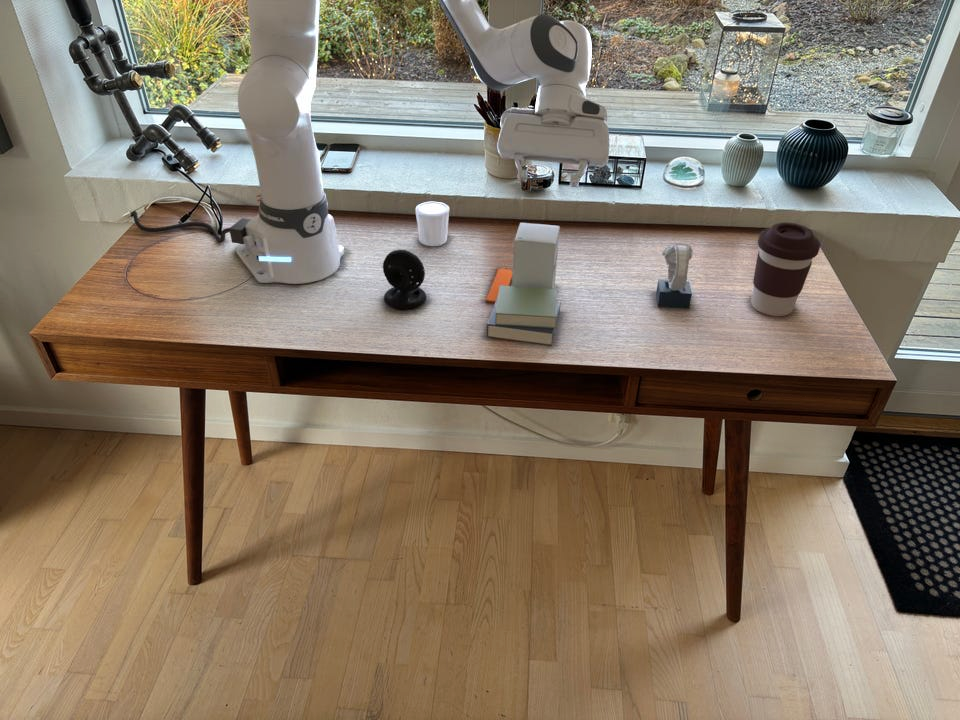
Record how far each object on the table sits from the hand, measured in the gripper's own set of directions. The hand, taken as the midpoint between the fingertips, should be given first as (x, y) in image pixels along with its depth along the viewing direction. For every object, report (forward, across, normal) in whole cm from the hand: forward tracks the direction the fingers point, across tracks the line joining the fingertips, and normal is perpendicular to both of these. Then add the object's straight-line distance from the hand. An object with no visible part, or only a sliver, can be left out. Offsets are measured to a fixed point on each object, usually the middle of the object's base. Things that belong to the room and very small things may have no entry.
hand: (547, 183), depth 141 cm
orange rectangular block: (+18, -6, +6) cm, 20 cm away
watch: (+17, +25, +8) cm, 31 cm away
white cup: (+8, -24, +17) cm, 30 cm away
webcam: (+25, -22, 0) cm, 33 cm away
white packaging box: (+20, 0, +5) cm, 20 cm away
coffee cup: (+15, +42, +10) cm, 46 cm away
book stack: (+27, 0, -2) cm, 27 cm away
